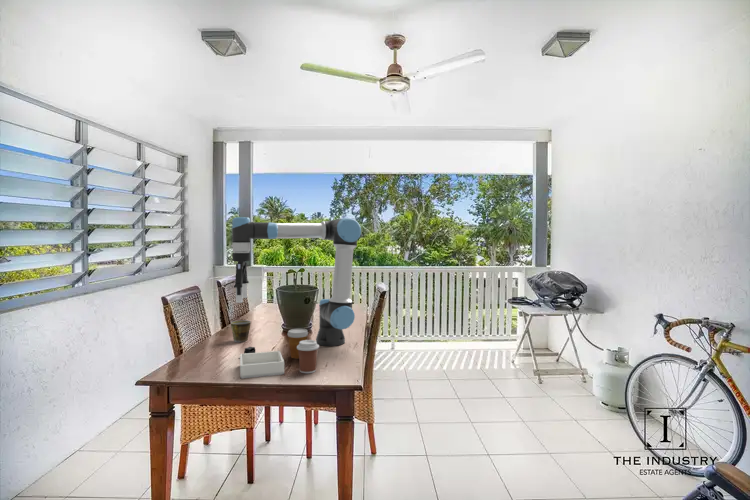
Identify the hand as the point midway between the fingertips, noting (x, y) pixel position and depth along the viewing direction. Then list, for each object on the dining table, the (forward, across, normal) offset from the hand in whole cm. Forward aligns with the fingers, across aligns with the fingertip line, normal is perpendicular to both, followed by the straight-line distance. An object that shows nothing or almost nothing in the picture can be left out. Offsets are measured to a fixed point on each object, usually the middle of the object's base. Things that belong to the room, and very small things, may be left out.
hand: (241, 300), depth 177 cm
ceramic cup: (+27, -33, -6) cm, 43 cm away
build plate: (+28, -5, +3) cm, 28 cm away
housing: (+27, +15, +10) cm, 32 cm away
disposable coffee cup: (+27, -1, +24) cm, 36 cm away
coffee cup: (+27, +19, +29) cm, 44 cm away
